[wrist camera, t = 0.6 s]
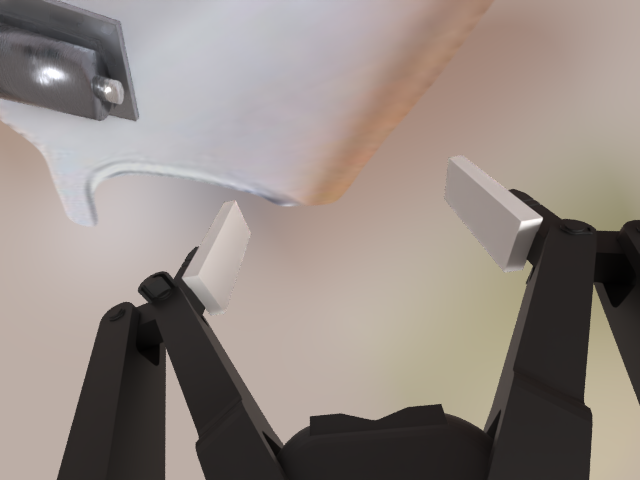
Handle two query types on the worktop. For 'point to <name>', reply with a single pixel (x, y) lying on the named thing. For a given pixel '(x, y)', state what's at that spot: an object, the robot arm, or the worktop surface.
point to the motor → (64, 60)
